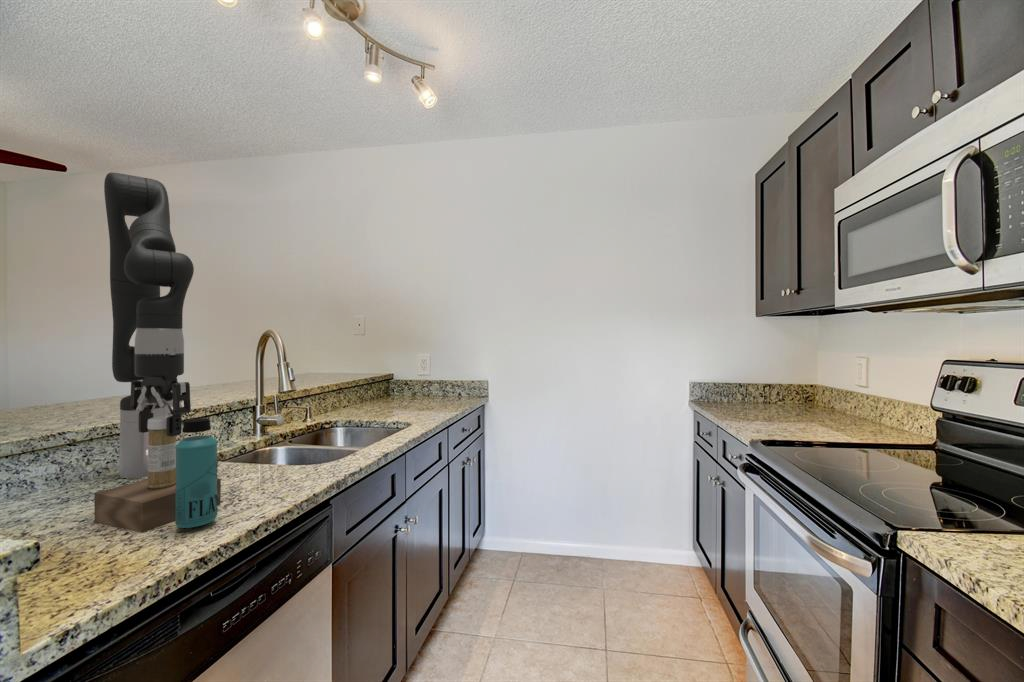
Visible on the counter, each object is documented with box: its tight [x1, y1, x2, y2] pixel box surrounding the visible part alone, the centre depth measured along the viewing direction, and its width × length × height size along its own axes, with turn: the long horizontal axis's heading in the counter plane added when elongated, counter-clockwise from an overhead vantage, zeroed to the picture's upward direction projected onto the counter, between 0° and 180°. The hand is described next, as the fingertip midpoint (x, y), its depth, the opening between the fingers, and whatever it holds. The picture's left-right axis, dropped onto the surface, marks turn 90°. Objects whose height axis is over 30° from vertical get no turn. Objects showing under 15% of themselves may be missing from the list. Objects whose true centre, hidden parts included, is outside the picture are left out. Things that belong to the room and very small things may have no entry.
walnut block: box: [93, 477, 222, 534], centre depth 84 cm, size 14×14×6 cm
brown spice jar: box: [147, 416, 177, 489], centre depth 84 cm, size 5×5×13 cm
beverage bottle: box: [174, 417, 219, 529], centre depth 77 cm, size 6×7×20 cm
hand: (159, 433), depth 84 cm, fingers open, 8 cm apart
